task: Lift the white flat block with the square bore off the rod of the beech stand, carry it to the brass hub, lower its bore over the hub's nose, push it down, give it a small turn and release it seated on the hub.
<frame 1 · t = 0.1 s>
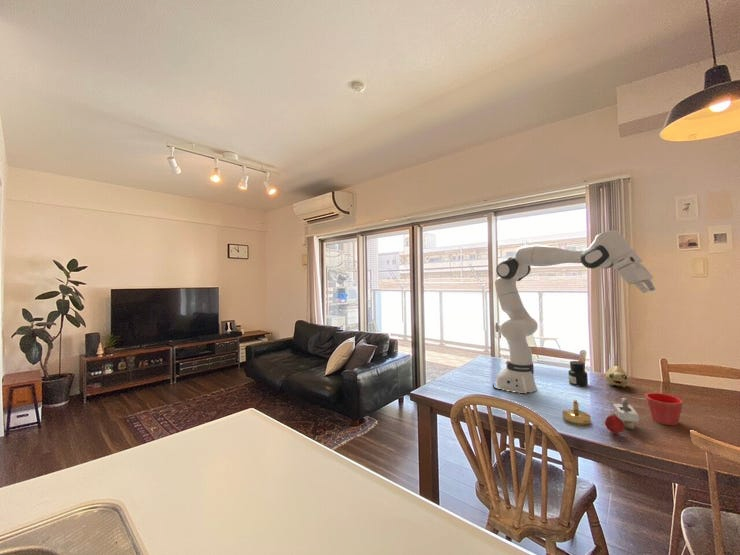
hand: (649, 291, 125), 54 cm above the table, tool tilted 30°, fingers open, 8 cm apart
ink bottle: (578, 384, 172), on the table
hub: (576, 420, 132), on the table
red rounded piece: (615, 434, 120), on the table
flower pot: (664, 421, 127), on the table
white flat block: (625, 416, 125), point 4 cm above the table, touching stand
toy pig: (617, 386, 166), on the table
stand: (626, 425, 125), on the table
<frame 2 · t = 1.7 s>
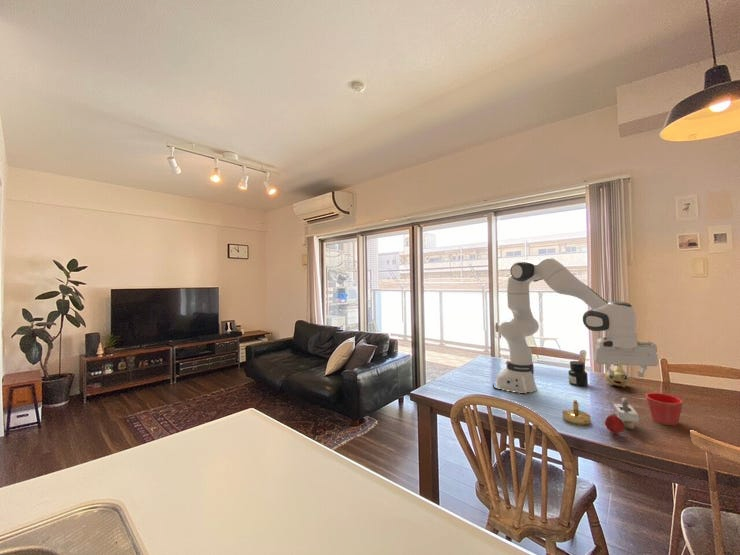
hand: (626, 375, 124), 21 cm above the table, tool pointing down, fingers open, 8 cm apart
nothing on the table moved.
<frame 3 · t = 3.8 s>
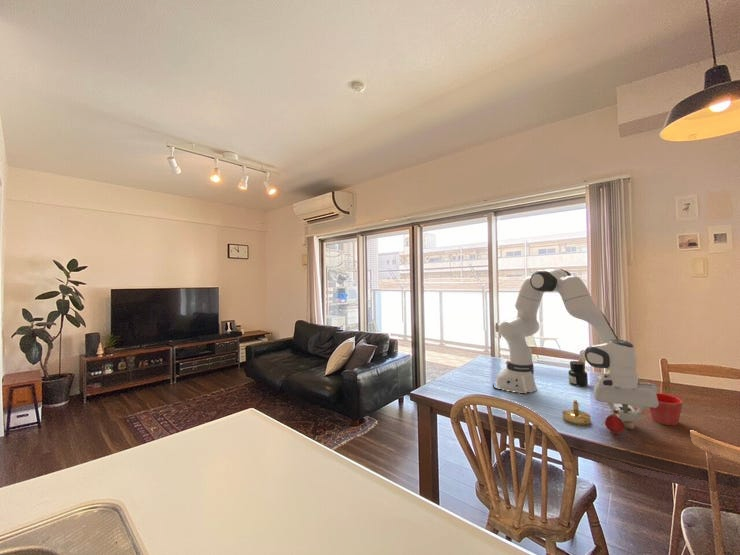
hand: (625, 414, 125), 5 cm above the table, tool pointing down, fingers closed on white flat block, 6 cm apart
white flat block: (625, 416, 125), point 4 cm above the table, touching gripper, stand
everything else where it was.
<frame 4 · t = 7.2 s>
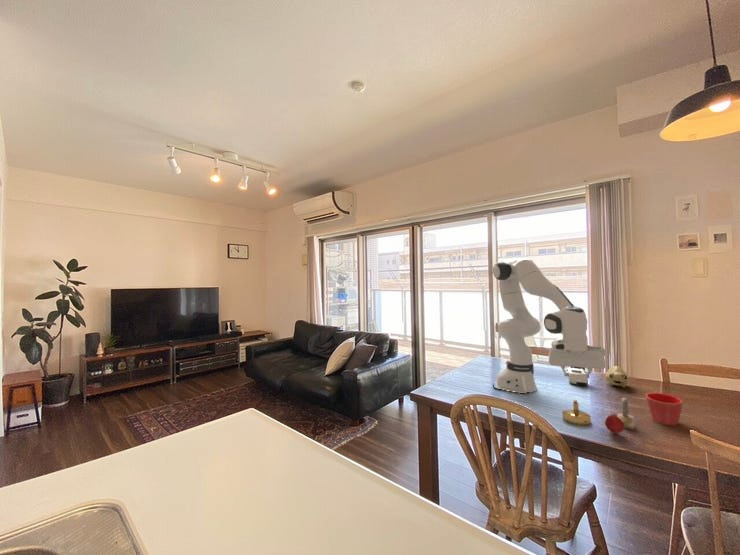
hand: (576, 376, 132), 19 cm above the table, tool pointing down, fingers closed on white flat block, 6 cm apart
white flat block: (576, 378, 132), point 18 cm above the table, touching gripper
everything else where it was.
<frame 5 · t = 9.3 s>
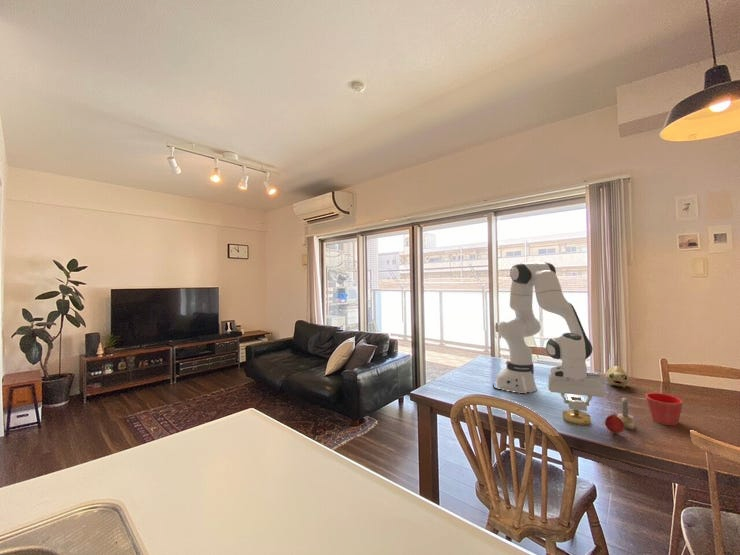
hand: (576, 404, 132), 7 cm above the table, tool pointing down, fingers closed on white flat block, 6 cm apart
white flat block: (576, 405, 131), point 6 cm above the table, touching gripper
everything else where it was.
when the fingers open (3 cm above the table, at t = 10.9 s): white flat block stays where it is, resting on hub.
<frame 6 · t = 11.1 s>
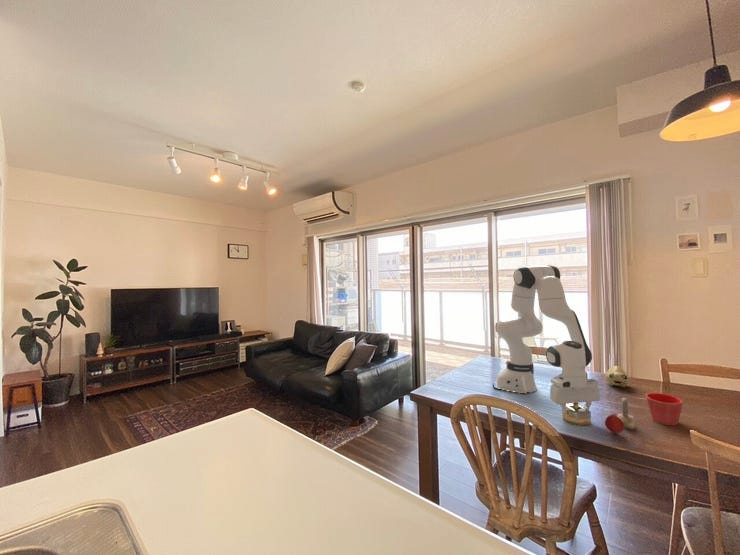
hand: (576, 412, 132), 3 cm above the table, tool pointing down, fingers open, 8 cm apart
white flat block: (576, 414, 132), point 2 cm above the table, touching hub
everything else where it was.
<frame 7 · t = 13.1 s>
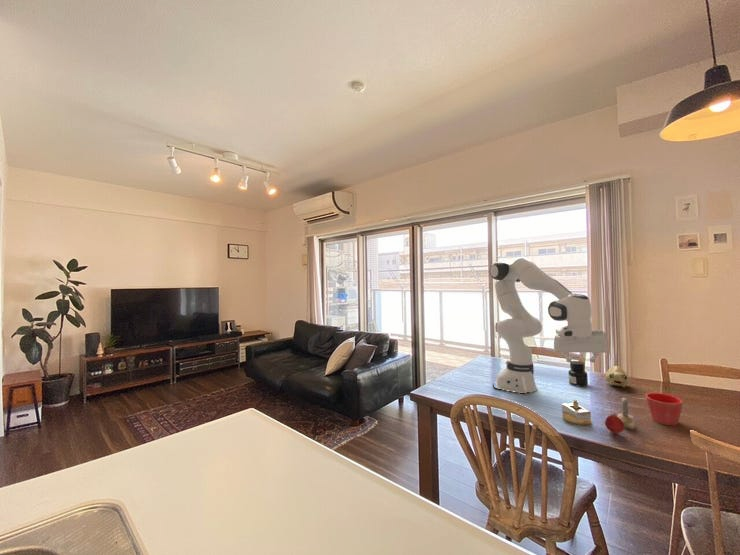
hand: (580, 362, 136), 24 cm above the table, tool pointing down, fingers open, 8 cm apart
nothing on the table moved.
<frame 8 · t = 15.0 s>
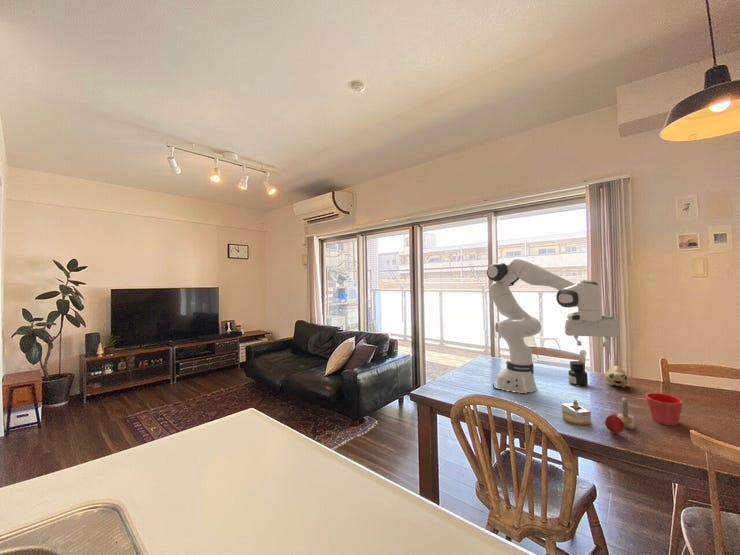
hand: (591, 345, 141), 29 cm above the table, tool pointing down, fingers open, 8 cm apart
nothing on the table moved.
at the end: white flat block 0.0 cm off-centre on the hub, point 2.5 cm above the hub's base; the gripper is holding nothing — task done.
